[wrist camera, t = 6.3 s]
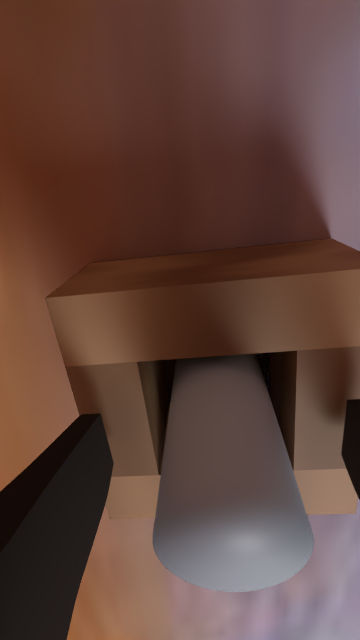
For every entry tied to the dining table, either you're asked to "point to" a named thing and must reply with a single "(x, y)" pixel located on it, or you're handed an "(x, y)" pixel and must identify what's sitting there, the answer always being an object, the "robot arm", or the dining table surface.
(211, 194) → the dining table surface
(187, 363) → the dowel
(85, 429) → the robot arm
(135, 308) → the socket block
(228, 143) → the dining table surface
